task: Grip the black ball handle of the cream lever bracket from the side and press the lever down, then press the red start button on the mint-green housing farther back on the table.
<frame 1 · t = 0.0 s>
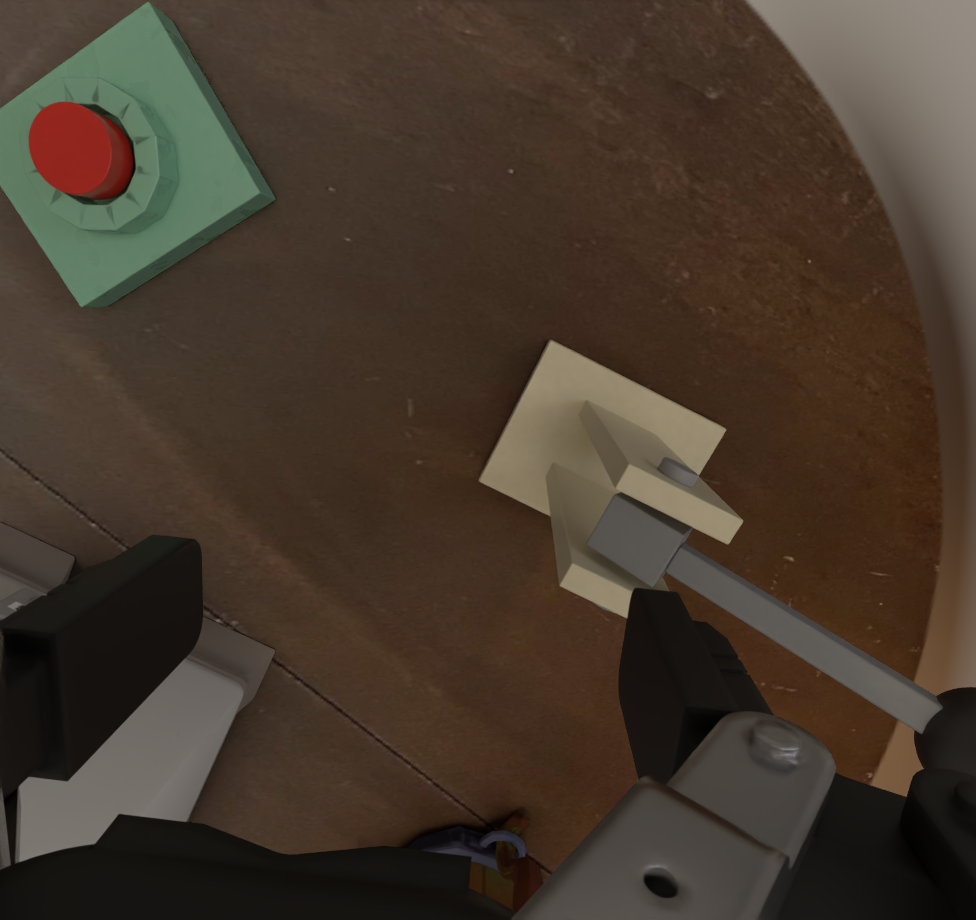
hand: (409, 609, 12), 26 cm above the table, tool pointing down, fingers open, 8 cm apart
lever: (801, 635, 21), point 17 cm above the table, hinge at 25.0°
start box: (137, 171, 35), on the table
mug: (483, 856, 45), on the table
bracket: (597, 450, 37), on the table
button: (82, 152, 30), point 4 cm above the table, slide at 0.1 cm
toaster: (78, 748, 44), on the table
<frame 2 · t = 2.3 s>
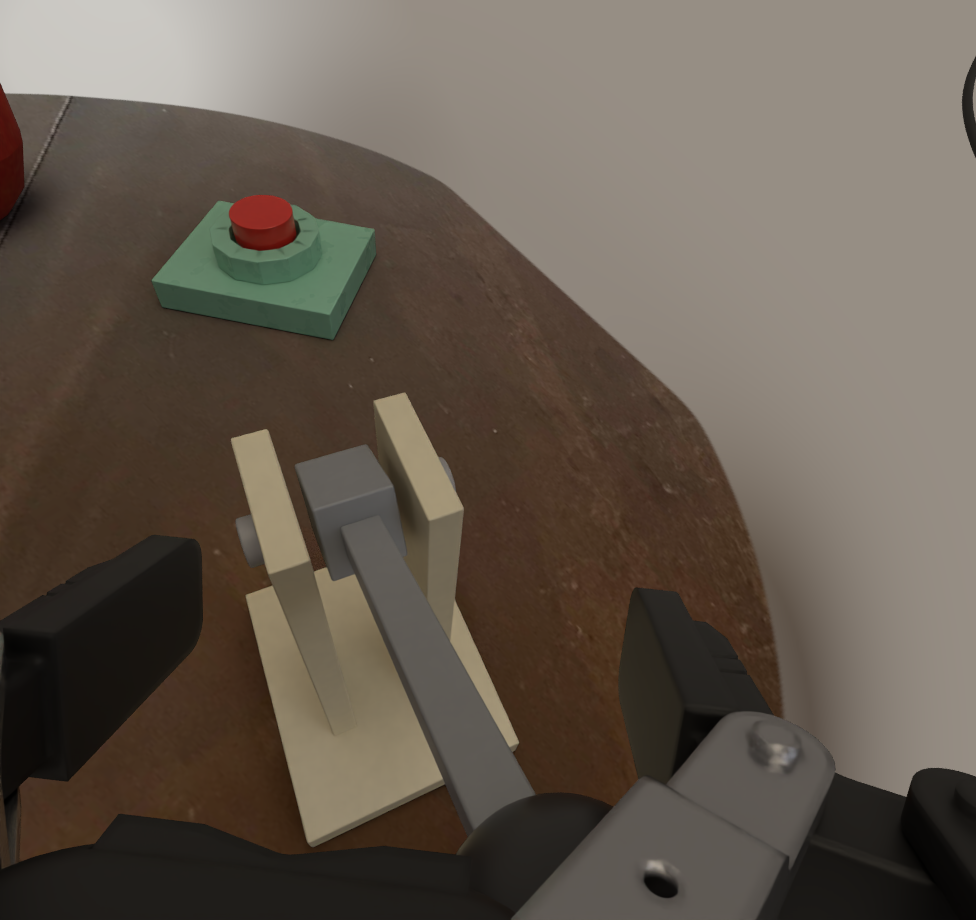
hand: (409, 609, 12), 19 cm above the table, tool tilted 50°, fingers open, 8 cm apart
lever: (421, 654, 13), point 17 cm above the table, hinge at 24.8°, touching gripper
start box: (275, 279, 46), on the table
bracket: (376, 674, 29), on the table
button: (263, 223, 42), point 4 cm above the table, slide at 0.1 cm
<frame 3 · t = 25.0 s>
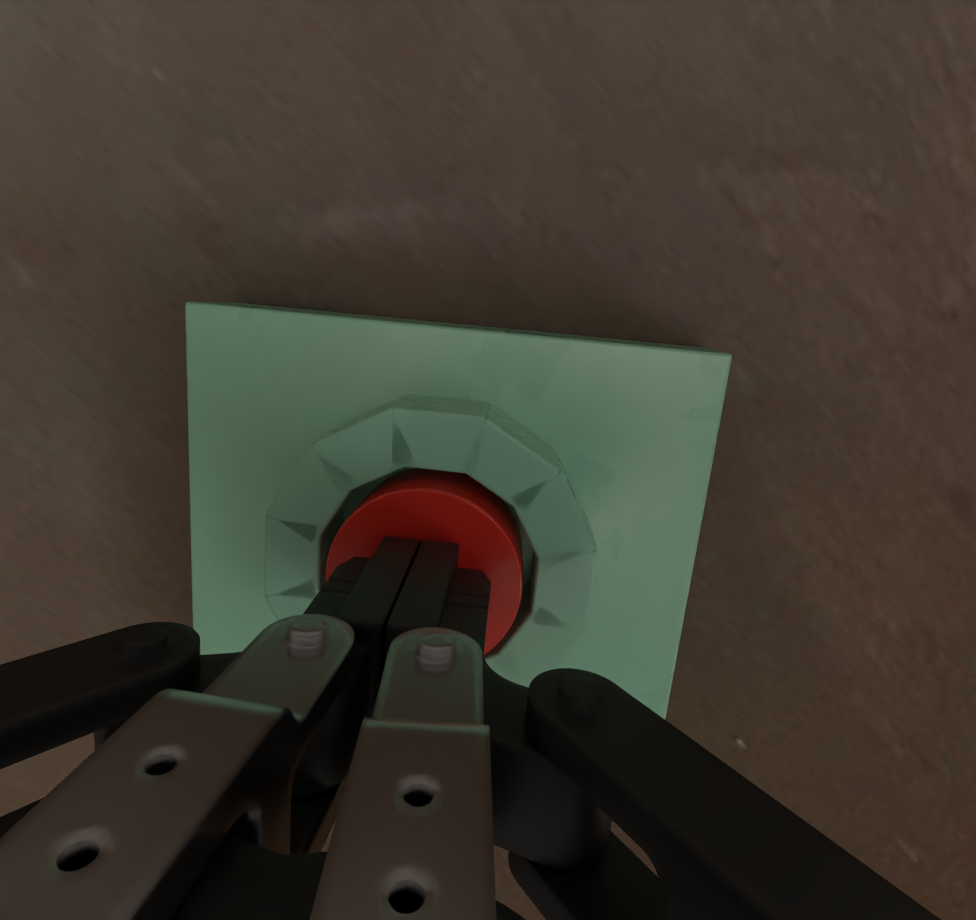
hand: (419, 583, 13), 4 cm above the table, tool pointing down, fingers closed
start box: (448, 513, 17), on the table
button: (429, 566, 14), point 4 cm above the table, slide at -0.8 cm, touching gripper
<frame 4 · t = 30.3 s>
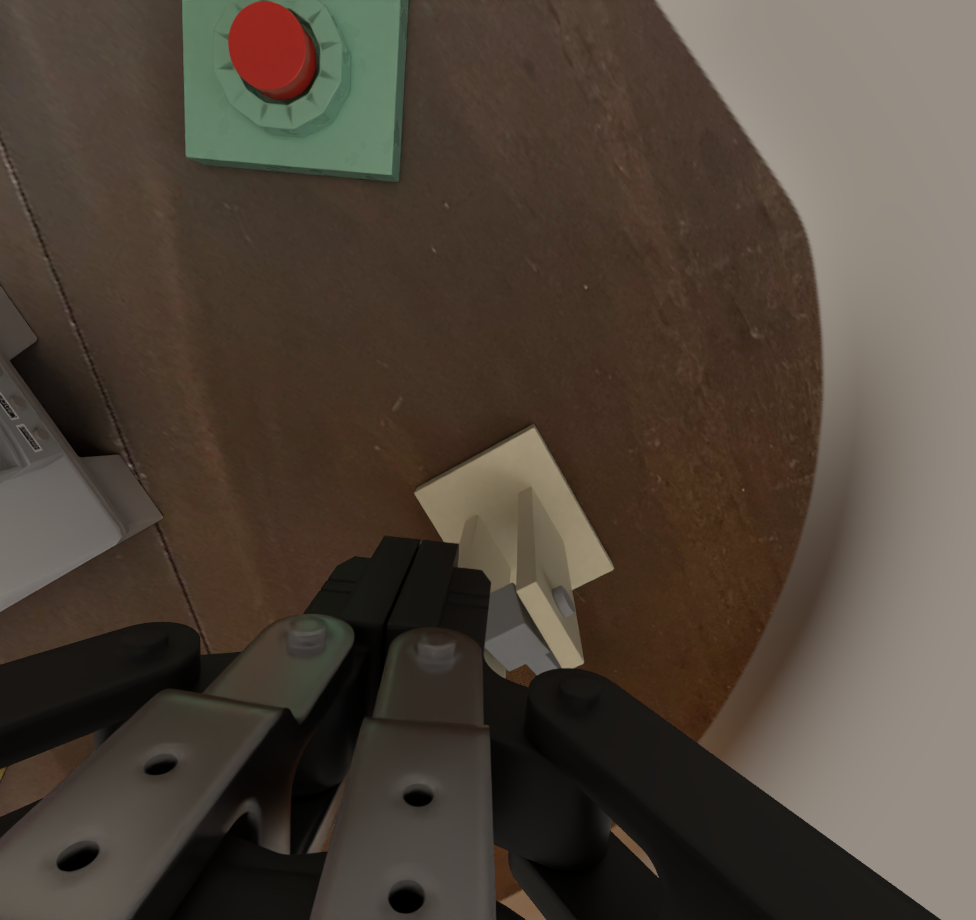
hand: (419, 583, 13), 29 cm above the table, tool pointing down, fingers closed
lever: (563, 683, 33), point 11 cm above the table, hinge at -28.0°
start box: (302, 82, 37), on the table
bracket: (514, 524, 43), on the table
button: (273, 52, 33), point 4 cm above the table, slide at 0.1 cm
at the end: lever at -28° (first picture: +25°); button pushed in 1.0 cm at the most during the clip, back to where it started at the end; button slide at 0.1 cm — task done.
